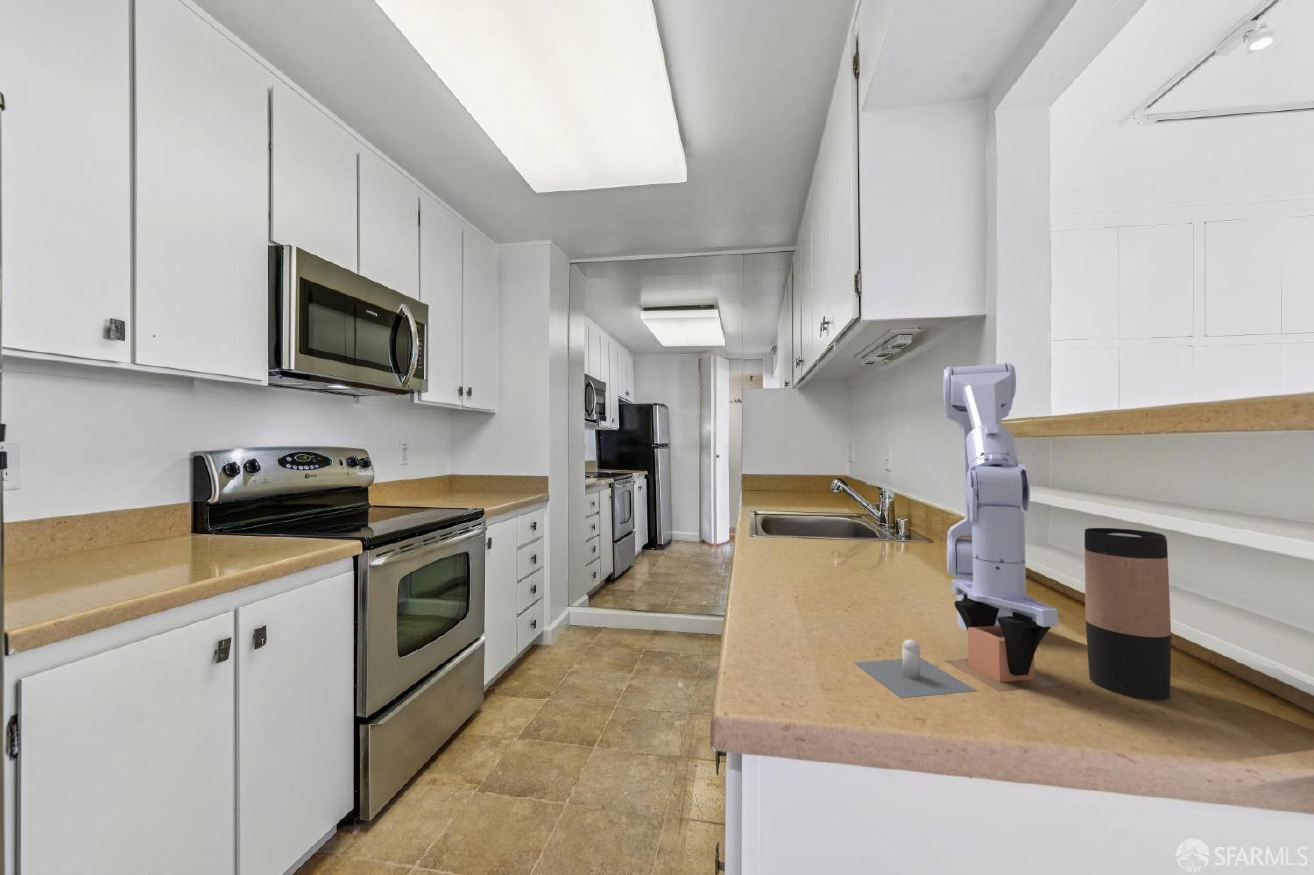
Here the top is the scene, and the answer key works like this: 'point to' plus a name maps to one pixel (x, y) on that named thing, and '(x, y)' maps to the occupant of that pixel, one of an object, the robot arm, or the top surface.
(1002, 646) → the collar
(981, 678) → the stand
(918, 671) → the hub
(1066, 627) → the top surface
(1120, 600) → the travel mug
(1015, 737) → the top surface
